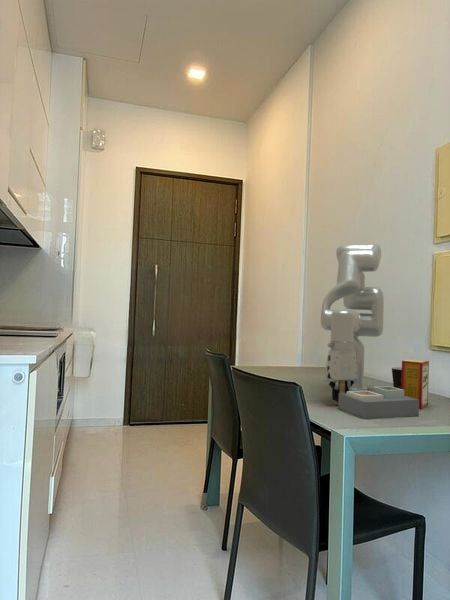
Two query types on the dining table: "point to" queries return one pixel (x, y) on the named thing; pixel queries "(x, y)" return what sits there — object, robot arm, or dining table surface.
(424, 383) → the baking soda box
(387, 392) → the grey compartment tray
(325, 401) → the dining table surface
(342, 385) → the wooden block
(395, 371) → the coffee mug
